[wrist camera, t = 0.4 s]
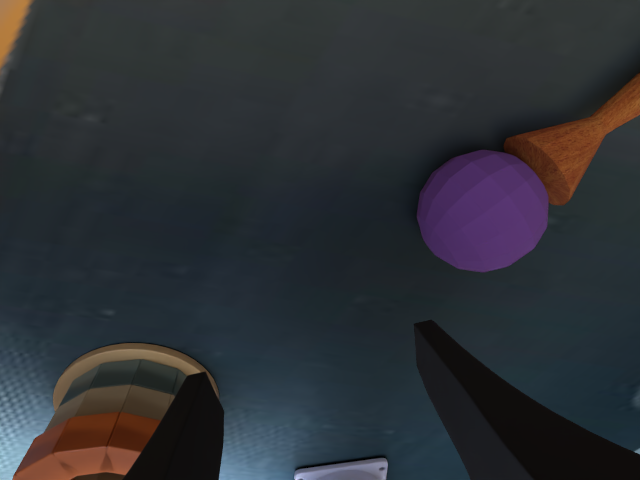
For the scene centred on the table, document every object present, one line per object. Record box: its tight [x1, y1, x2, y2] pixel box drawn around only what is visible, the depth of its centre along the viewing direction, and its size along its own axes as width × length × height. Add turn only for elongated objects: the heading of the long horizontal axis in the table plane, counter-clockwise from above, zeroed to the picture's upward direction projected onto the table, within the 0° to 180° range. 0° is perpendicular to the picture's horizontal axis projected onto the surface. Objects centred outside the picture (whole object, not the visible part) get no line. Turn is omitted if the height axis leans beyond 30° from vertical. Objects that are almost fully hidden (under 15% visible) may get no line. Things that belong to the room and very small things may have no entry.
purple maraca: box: [417, 72, 640, 272], centre depth 18 cm, size 6×6×20 cm
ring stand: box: [45, 343, 219, 480], centre depth 24 cm, size 10×10×5 cm
